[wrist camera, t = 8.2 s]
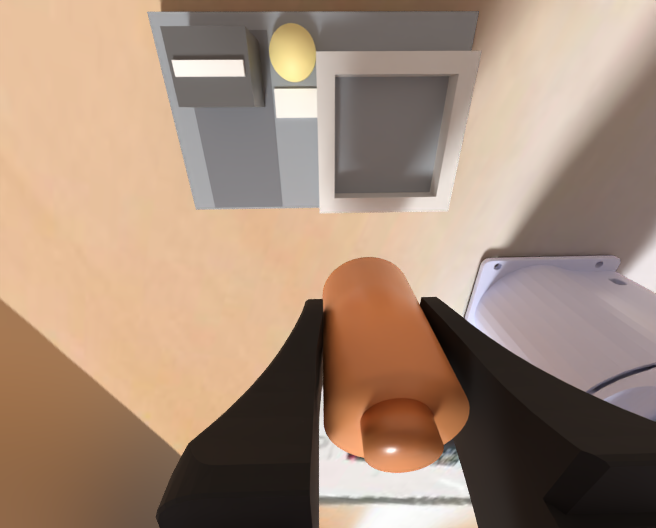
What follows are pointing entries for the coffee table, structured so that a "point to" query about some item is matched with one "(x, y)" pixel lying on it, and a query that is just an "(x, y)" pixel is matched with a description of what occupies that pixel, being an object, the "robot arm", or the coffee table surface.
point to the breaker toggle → (214, 66)
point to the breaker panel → (334, 112)
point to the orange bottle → (385, 371)
